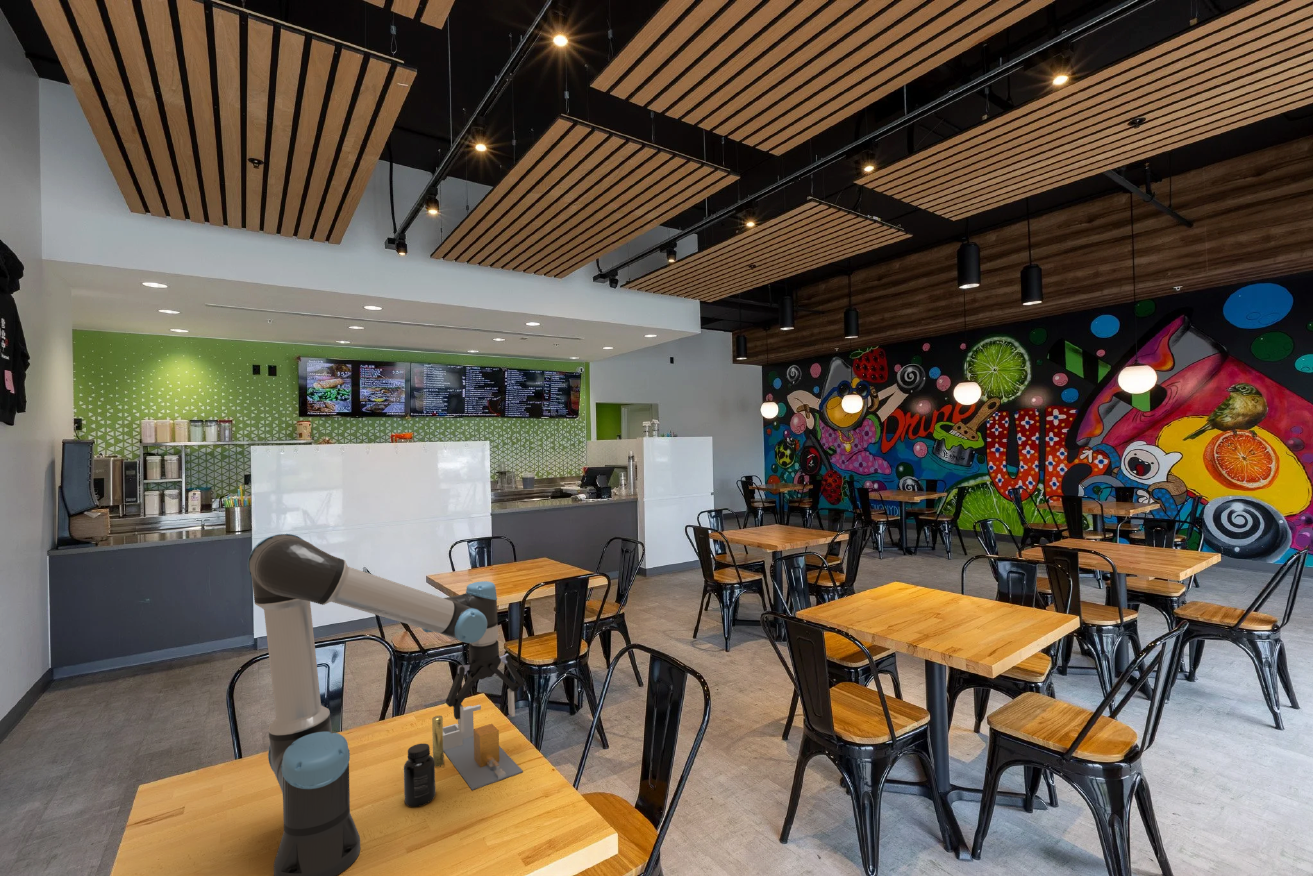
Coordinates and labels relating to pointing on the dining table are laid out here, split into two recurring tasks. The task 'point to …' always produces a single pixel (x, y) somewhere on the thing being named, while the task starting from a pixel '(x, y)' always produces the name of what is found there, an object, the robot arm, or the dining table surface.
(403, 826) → the dining table surface
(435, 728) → the pin
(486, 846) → the dining table surface
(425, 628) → the robot arm
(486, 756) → the orange block with fittings
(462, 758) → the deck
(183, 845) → the dining table surface
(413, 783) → the supplement bottle
